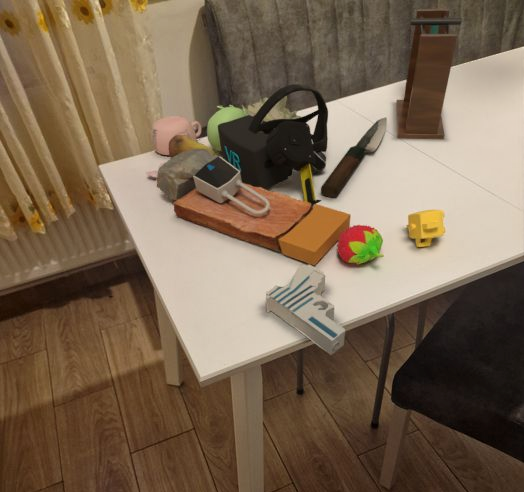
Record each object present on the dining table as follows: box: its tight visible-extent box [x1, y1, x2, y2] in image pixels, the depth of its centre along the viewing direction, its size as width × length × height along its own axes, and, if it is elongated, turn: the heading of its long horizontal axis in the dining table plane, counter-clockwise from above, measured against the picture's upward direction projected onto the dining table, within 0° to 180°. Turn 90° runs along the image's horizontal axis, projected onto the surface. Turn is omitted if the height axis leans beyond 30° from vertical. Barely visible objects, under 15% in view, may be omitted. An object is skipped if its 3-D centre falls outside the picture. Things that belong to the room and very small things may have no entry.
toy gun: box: [265, 264, 346, 356], centre depth 73 cm, size 3×14×10 cm
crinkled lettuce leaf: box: [241, 95, 302, 122], centre depth 116 cm, size 16×8×15 cm
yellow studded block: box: [406, 209, 446, 248], centre depth 83 cm, size 8×6×5 cm
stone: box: [156, 149, 218, 201], centre depth 97 cm, size 12×8×8 cm
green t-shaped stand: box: [409, 17, 463, 34], centre depth 108 cm, size 6×10×16 cm, turn 81°
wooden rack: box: [395, 8, 458, 140], centre depth 110 cm, size 19×10×20 cm, turn 171°
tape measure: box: [266, 121, 322, 207], centre depth 91 cm, size 15×4×8 cm
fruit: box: [169, 135, 222, 158], centre depth 107 cm, size 6×6×12 cm
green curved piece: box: [206, 104, 249, 152], centre depth 109 cm, size 12×11×11 cm
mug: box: [150, 115, 202, 156], centre depth 112 cm, size 12×10×6 cm
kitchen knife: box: [320, 117, 388, 198], centre depth 106 cm, size 36×2×5 cm
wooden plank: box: [173, 183, 351, 266], centre depth 90 cm, size 13×30×3 cm, turn 56°
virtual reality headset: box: [218, 83, 329, 190], centre depth 100 cm, size 19×22×15 cm
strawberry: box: [336, 224, 384, 266], centre depth 81 cm, size 6×7×10 cm
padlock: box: [193, 155, 270, 215], centre depth 89 cm, size 7×4×15 cm
